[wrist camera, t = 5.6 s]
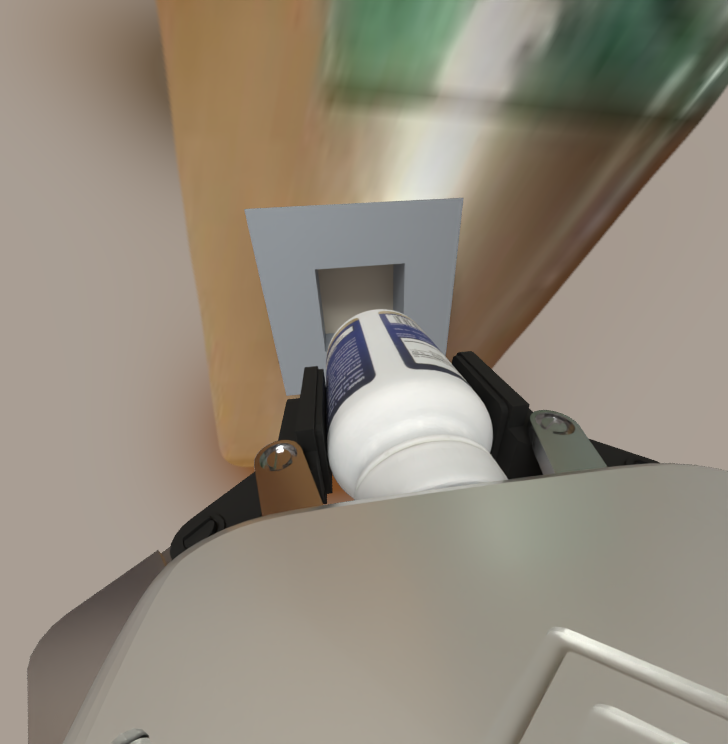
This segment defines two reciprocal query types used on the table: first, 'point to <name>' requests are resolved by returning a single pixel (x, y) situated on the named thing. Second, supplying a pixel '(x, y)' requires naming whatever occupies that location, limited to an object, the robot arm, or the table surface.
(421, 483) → the pill bottle
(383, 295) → the socket block
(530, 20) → the table surface
